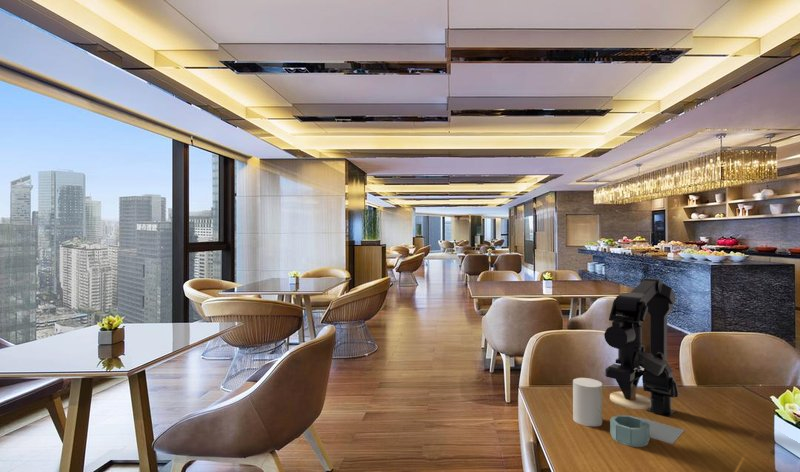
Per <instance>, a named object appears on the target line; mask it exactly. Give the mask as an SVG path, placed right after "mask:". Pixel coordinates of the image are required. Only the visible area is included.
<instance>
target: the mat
mask: <svg viewBox="0 0 800 472" xmlns="http://www.w3.org/2000/svg"><path fill="white" fill-rule="evenodd" d="M638 418H640V419H643V420H644V421H645V422H647V423H648V424H649V425H650V439H653V440H656V441H657V440H658V441H661V442H664V443H666V444H670V445H673V444H674V443H675V442H676V441H677V440H678V438H679V437H680V436H681V435H682V434H683V433H684V432H685V431H686V430H685V429H683V428H679V427H675V426H672V425H668V424H665V423H662V422H658V421H655V420H651V419H648V418H643V417H638Z"/></svg>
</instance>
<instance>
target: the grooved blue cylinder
mask: <svg viewBox="0 0 800 472" xmlns="http://www.w3.org/2000/svg"><path fill="white" fill-rule="evenodd" d="M609 423H610V424H609V434H610V435H611V438H612V439H613V440H614V441H616V442H617V443H619V444H621V445H625V446H628V447H634V448H642V447H646V446H648V445H649V441H651V440H650V439H651V438H650V425H649V424H648V423H647V422H645V421H644V420H643V419H640V418H639V417H635V416H634V415H633V416H632V415H628V414H615V415H613V416H612V417H611V418H610V419H609Z"/></svg>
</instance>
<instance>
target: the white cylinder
mask: <svg viewBox="0 0 800 472" xmlns="http://www.w3.org/2000/svg"><path fill="white" fill-rule="evenodd" d="M572 419H573V421H574V422H575V423H577V424H579V425H581V426H586V427H600V426H602V424H603V383H602V382H601V381H600V380H596V379H593V378H588V377H577V378H574V379H572Z"/></svg>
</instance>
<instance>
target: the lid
mask: <svg viewBox="0 0 800 472" xmlns="http://www.w3.org/2000/svg"><path fill="white" fill-rule="evenodd" d="M609 400H610V402H612V404H615V405H616V406H619V407H623V408H627V409H633V410H646V409H648V408H649V407H651V400H650V397H647V396H646V395H643V394H640V393H637V389H636V386H635V385H633V386H632V392H631V397H630V400H627V399H625V397H624V395H623V393H622V391H613V392H611V393H610V394H609Z"/></svg>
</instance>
